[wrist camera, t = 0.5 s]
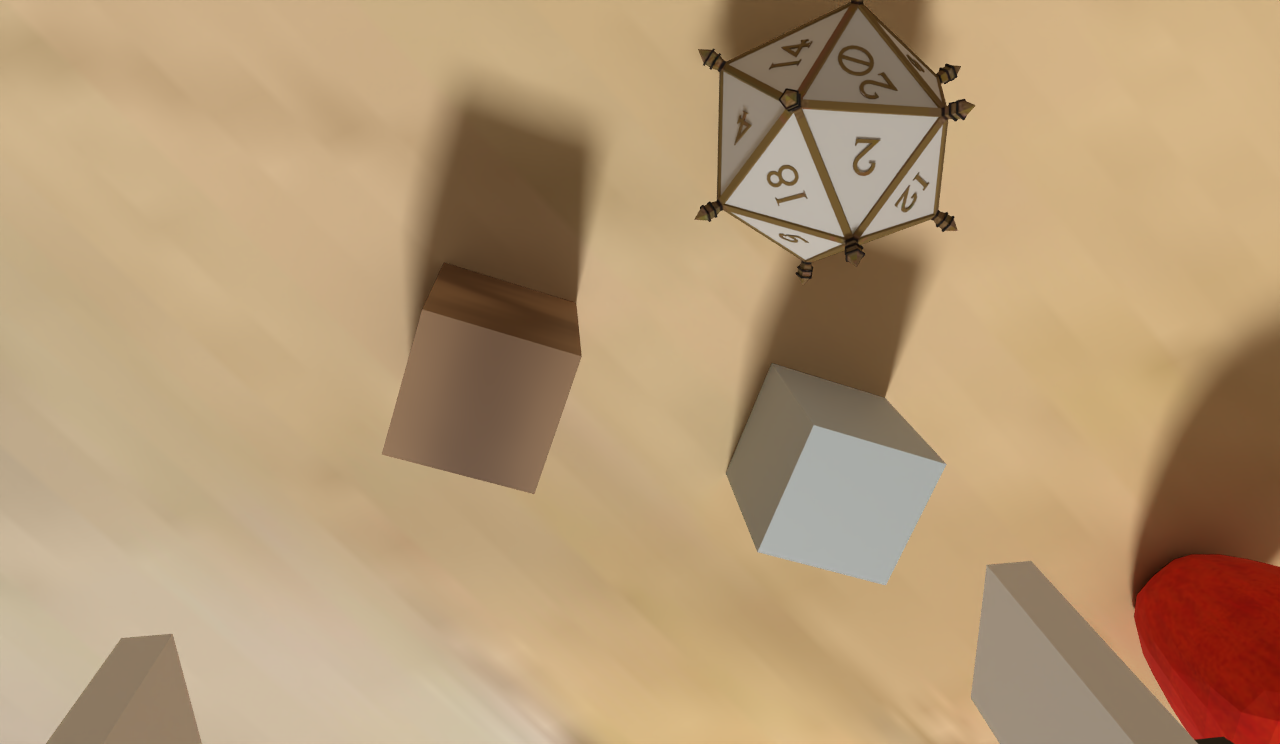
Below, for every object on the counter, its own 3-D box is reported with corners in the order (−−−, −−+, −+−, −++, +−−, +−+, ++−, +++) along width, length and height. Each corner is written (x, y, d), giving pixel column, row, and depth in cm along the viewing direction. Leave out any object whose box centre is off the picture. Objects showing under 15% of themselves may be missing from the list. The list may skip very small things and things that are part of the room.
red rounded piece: (1302, 504, 40) (1559, 665, 30) (1245, 666, 43) (1460, 861, 33) (1115, 504, 39) (1314, 670, 29) (1071, 669, 42) (1237, 871, 32)
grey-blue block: (725, 472, 36) (757, 551, 31) (771, 362, 35) (814, 425, 29) (835, 503, 37) (885, 585, 32) (884, 397, 36) (946, 464, 30)
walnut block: (409, 385, 34) (382, 454, 28) (444, 261, 32) (422, 309, 27) (536, 420, 35) (534, 494, 29) (576, 302, 33) (581, 356, 28)
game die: (723, 111, 35) (604, 14, 26) (942, 12, 31) (893, -140, 22) (787, 328, 34) (686, 307, 25) (1022, 250, 30) (1006, 191, 21)
